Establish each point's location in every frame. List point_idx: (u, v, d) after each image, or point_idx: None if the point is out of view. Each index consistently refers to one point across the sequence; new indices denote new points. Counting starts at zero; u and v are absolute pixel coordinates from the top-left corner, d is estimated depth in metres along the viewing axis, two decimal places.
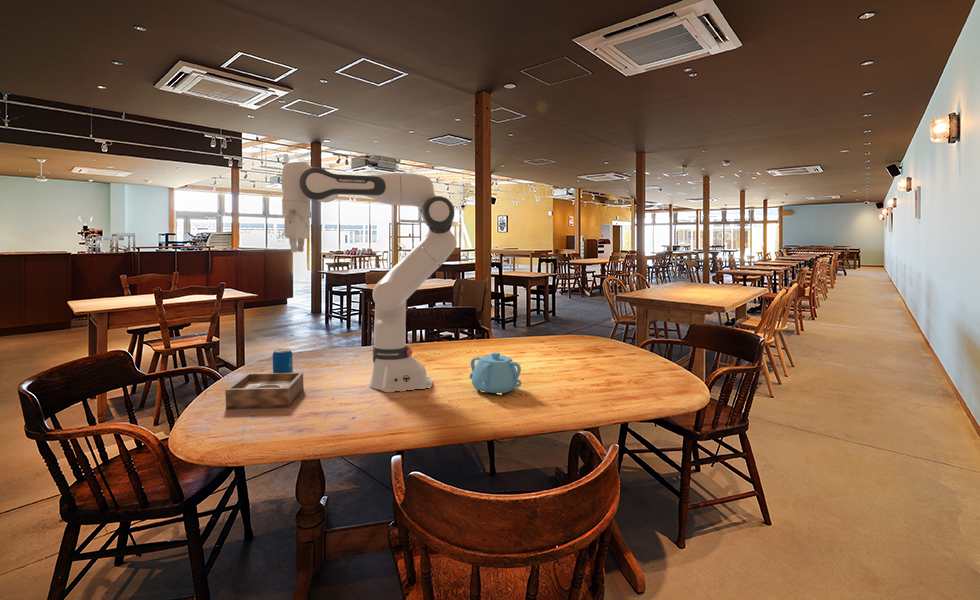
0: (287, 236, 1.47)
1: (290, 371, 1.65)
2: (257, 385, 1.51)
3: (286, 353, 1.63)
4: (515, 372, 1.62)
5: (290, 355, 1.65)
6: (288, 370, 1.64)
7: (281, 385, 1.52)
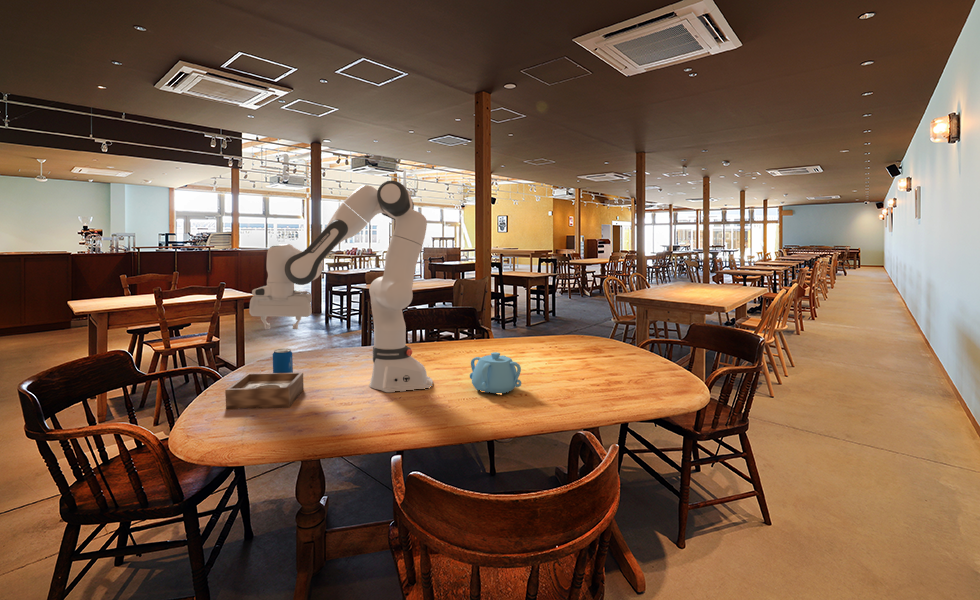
0: (309, 315, 1.64)
1: (290, 371, 1.65)
2: (257, 385, 1.51)
3: (286, 353, 1.63)
4: (515, 372, 1.62)
5: (290, 355, 1.65)
6: (288, 370, 1.64)
7: (281, 385, 1.52)
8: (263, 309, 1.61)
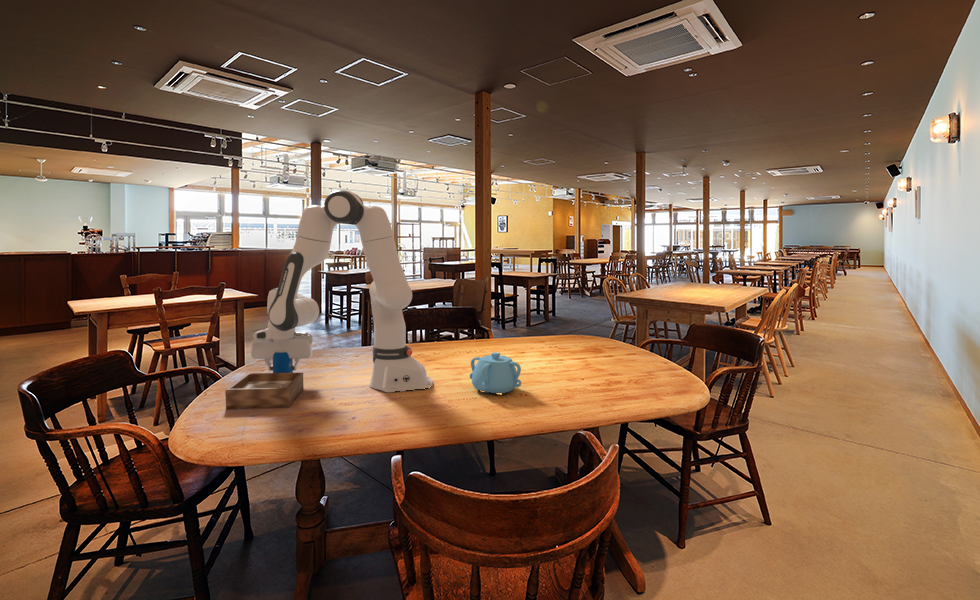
0: (310, 356, 1.66)
1: (290, 371, 1.65)
2: (257, 385, 1.51)
3: (286, 353, 1.63)
4: (515, 372, 1.62)
5: None
6: (288, 370, 1.64)
7: (281, 385, 1.52)
8: (265, 352, 1.62)
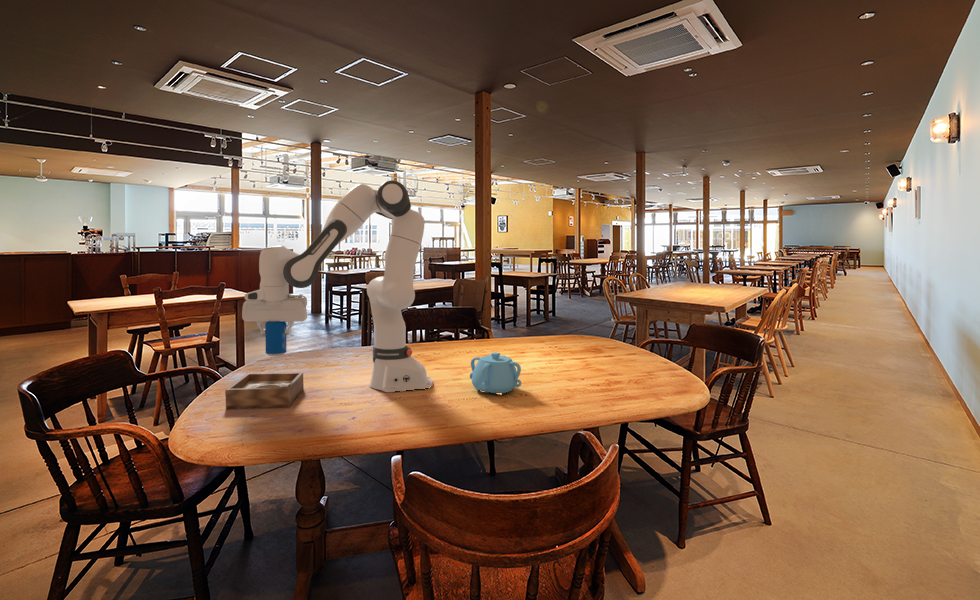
0: (304, 320, 1.57)
1: (284, 342, 1.57)
2: (257, 385, 1.51)
3: (280, 322, 1.55)
4: (515, 372, 1.62)
5: (284, 325, 1.57)
6: (281, 340, 1.56)
7: (281, 385, 1.52)
8: (256, 314, 1.54)
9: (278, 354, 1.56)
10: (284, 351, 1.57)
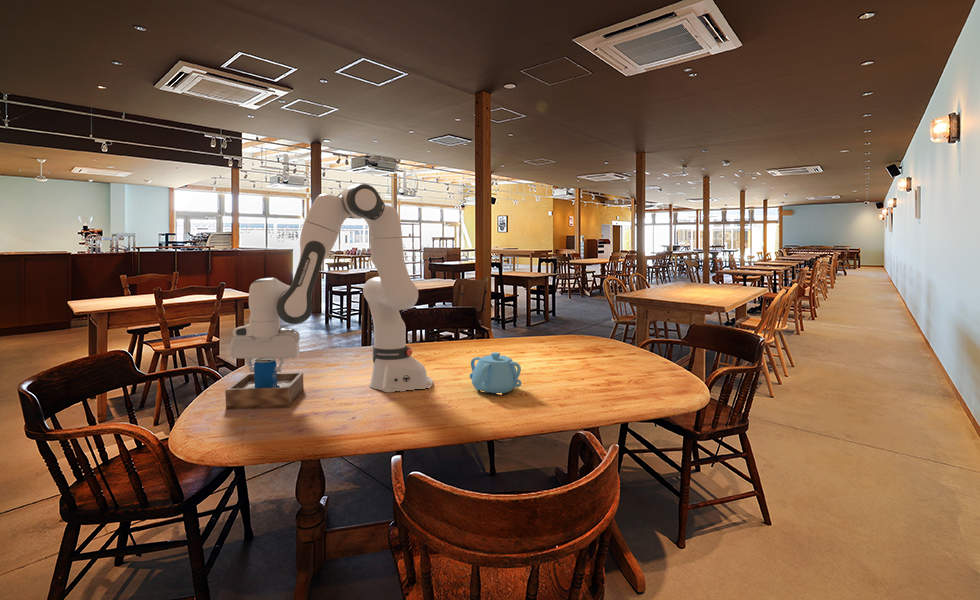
0: (296, 356, 1.48)
1: (274, 383, 1.47)
2: None
3: (269, 363, 1.46)
4: (515, 372, 1.62)
5: (274, 365, 1.47)
6: (272, 382, 1.46)
7: (281, 385, 1.52)
8: (245, 351, 1.45)
9: None
10: None
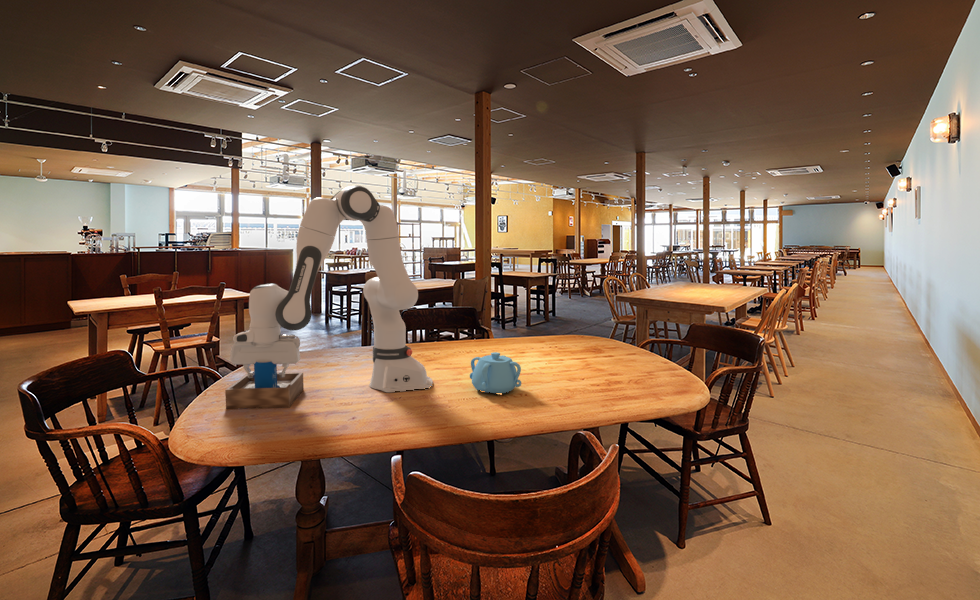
0: None
1: (274, 383, 1.47)
2: None
3: (269, 363, 1.46)
4: (515, 372, 1.62)
5: (274, 365, 1.47)
6: (272, 382, 1.47)
7: (281, 385, 1.52)
8: (246, 357, 1.45)
9: None
10: None
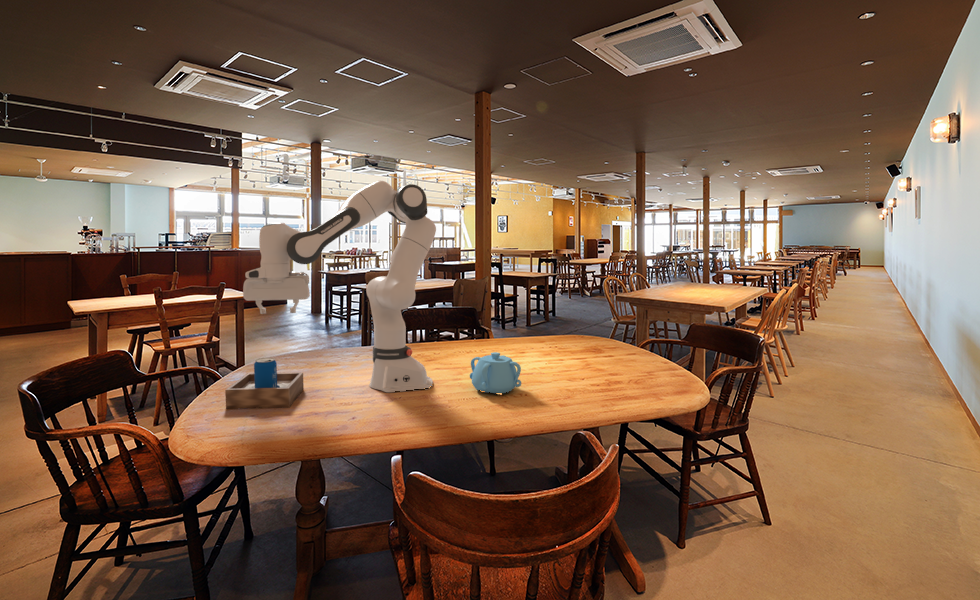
0: None
1: (274, 383, 1.47)
2: None
3: (269, 363, 1.46)
4: (515, 372, 1.62)
5: (274, 365, 1.47)
6: (272, 382, 1.47)
7: (281, 385, 1.52)
8: (258, 293, 1.51)
9: None
10: None
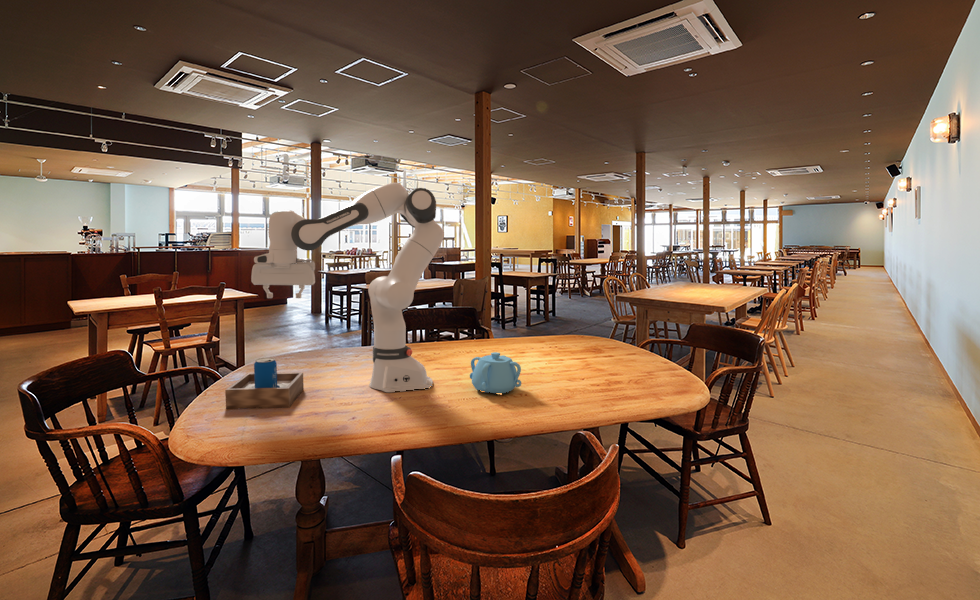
0: (312, 284, 1.60)
1: (274, 383, 1.47)
2: None
3: (269, 363, 1.46)
4: (515, 372, 1.62)
5: (274, 365, 1.47)
6: (272, 382, 1.47)
7: (281, 385, 1.52)
8: (265, 277, 1.57)
9: None
10: None
